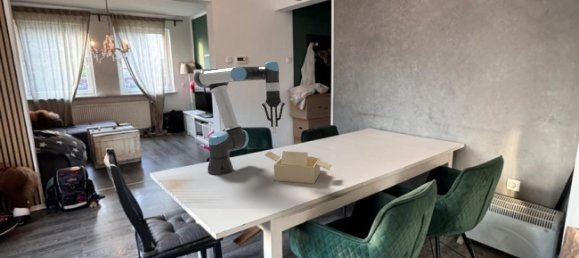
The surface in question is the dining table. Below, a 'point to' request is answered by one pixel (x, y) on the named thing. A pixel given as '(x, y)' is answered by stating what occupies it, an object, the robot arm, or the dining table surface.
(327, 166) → the flap
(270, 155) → the flap
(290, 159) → the flap
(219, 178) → the dining table surface
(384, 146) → the dining table surface
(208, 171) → the robot arm
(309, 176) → the carton
